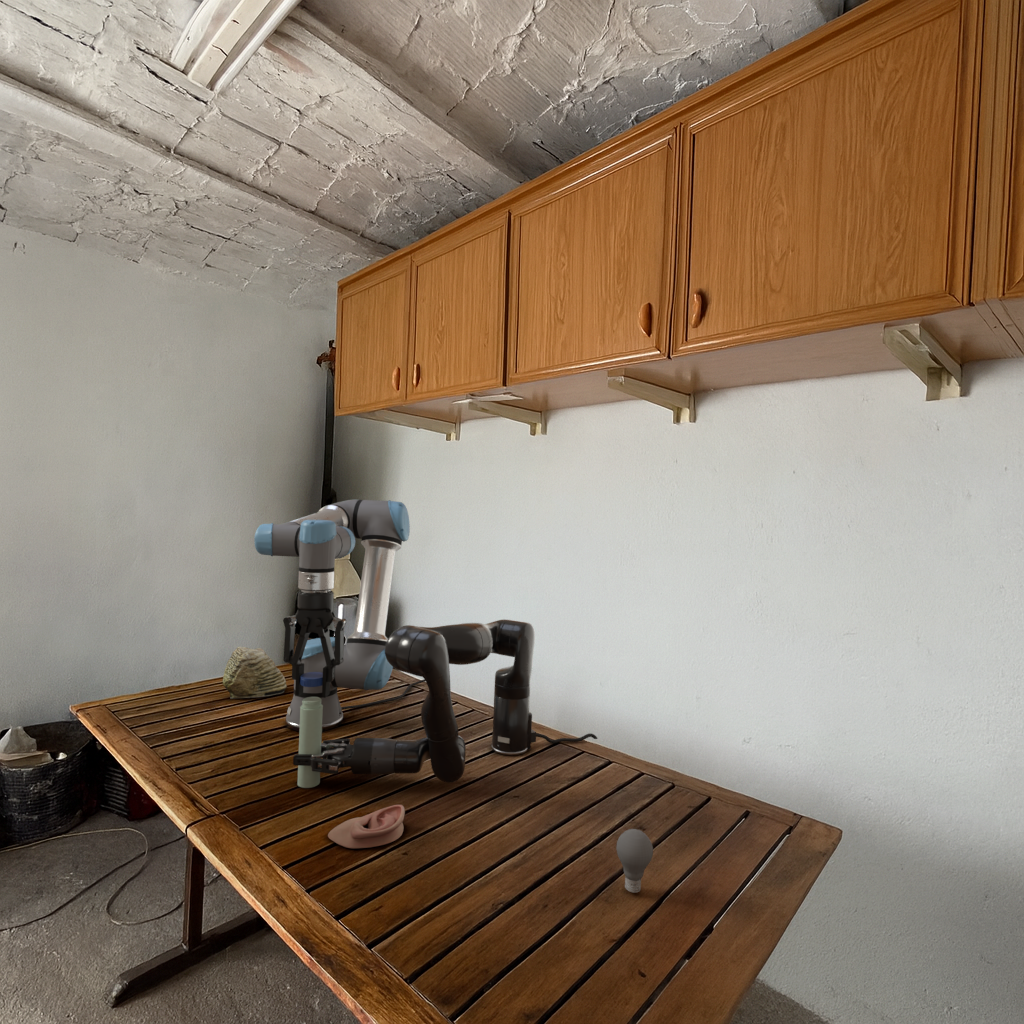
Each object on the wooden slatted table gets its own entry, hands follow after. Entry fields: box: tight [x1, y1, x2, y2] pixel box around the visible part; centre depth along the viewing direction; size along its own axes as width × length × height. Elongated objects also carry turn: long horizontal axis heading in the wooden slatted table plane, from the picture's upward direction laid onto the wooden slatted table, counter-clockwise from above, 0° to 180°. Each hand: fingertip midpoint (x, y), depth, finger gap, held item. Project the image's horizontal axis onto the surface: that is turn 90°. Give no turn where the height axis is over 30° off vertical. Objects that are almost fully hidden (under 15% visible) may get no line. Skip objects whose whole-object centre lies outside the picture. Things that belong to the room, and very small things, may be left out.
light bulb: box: [615, 828, 654, 894], centre depth 106 cm, size 6×6×10 cm
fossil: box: [222, 646, 288, 699], centre depth 198 cm, size 9×18×15 cm, turn 132°
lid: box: [300, 672, 323, 687], centre depth 140 cm, size 5×6×2 cm
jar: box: [296, 697, 323, 789], centre depth 140 cm, size 5×5×19 cm
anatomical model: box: [327, 804, 406, 849], centre depth 120 cm, size 13×4×12 cm
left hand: (312, 694), depth 140 cm, fingers closed on lid, 5 cm apart
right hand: (297, 754), depth 139 cm, fingers closed on jar, 4 cm apart
